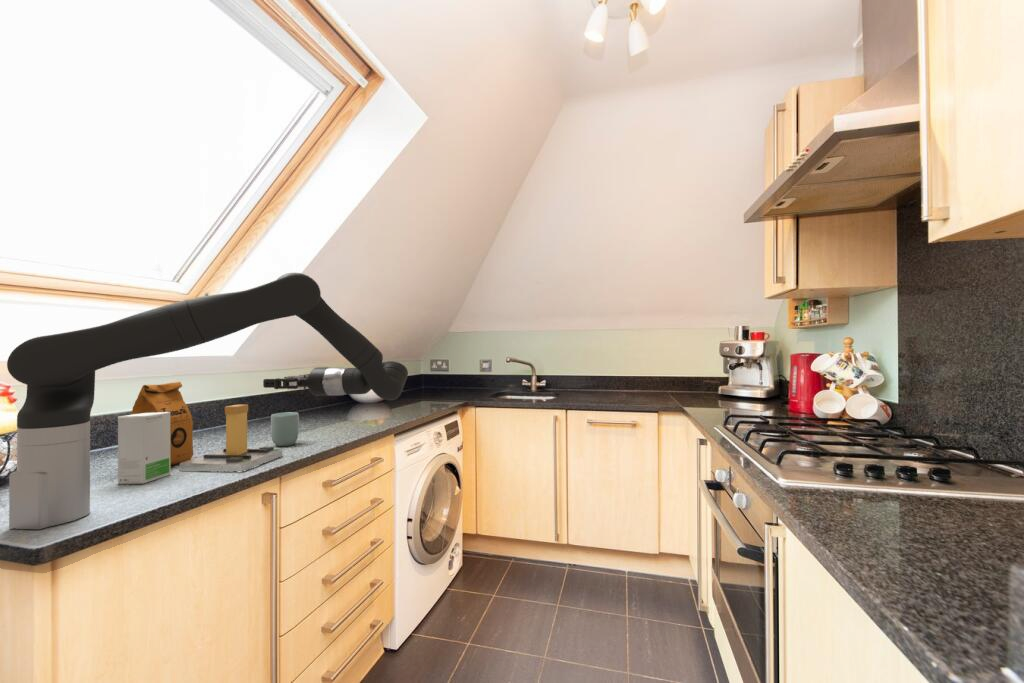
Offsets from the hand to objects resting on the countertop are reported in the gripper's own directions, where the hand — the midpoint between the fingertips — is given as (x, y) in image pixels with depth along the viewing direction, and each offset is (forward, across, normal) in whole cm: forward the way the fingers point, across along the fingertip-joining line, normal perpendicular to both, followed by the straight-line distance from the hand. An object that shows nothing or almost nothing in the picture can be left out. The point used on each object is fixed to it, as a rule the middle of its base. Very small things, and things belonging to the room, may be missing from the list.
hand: (274, 381), depth 118 cm
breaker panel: (+11, +1, +22) cm, 24 cm away
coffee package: (+29, +4, +22) cm, 37 cm away
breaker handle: (+11, 0, +19) cm, 22 cm away
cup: (+11, -21, +22) cm, 32 cm away
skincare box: (+22, +16, +22) cm, 35 cm away
